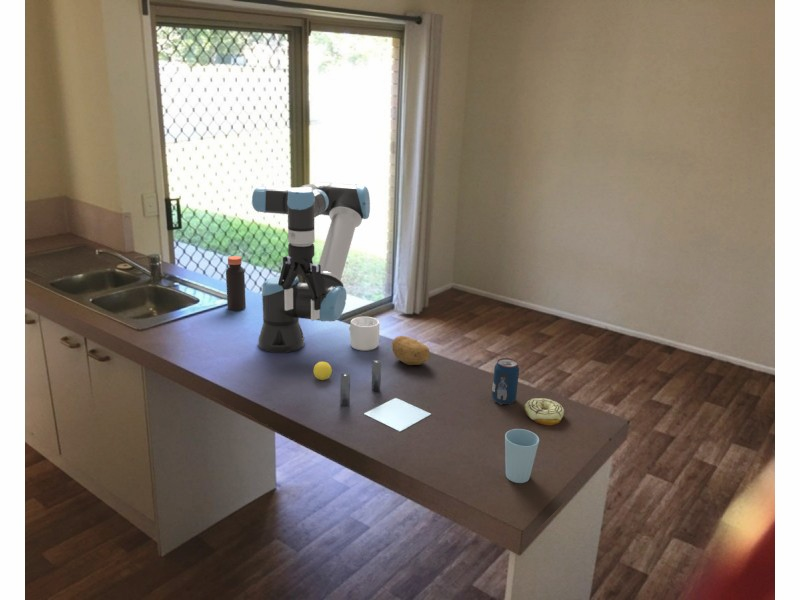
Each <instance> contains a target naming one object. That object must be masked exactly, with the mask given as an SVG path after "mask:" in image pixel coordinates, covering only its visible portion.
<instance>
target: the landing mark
mask: <svg viewBox="0 0 800 600" xmlns="http://www.w3.org/2000/svg"><path fill="white" fill-rule="evenodd" d="M363 415H365V416H367V417H369V418H370V419H373V420H375V421H377V422H379V423H381V424H383V425H384V426H388V427H389V428H391V429H393V430H395V431H397V432H400V433H401V432H403V431H404V430H406V429H408V428H410V427H412V426H414V425H415V424H417V423H419V422H420V421H423V420H424V419H426V418H427V417H430V416H431V415H432V413H430V412H428V411H426V410H424V409H421V408H420V407H417V406H415V405H412V404H410V403H409V402H406V401H404V400H402V399H399V398H397V397H395V398H392V399H390V400H389V401H386V402H385V403H383V404H380V405H378V406H376V407H374V408H372V409H370V410H368V411H366V412H364V413H363Z"/></svg>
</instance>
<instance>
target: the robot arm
mask: <svg viewBox="0 0 800 600" xmlns="http://www.w3.org/2000/svg"><path fill="white" fill-rule="evenodd" d="M251 196H252V197H251V204H252V207H253V208H252V209H254V210H255V211H256V212H258V213H264V214H277V215H278V214H280V215H287V233H288V234H287V236H288V237H287V239H288V246H287V249H288V251H287V253H288V254H287V256H283V257H282V267H281V271H280V275H275V276H273V277H270V278H267V279H266V280H265V281H264V282H263V283H262V291H261V292H262V293H261V297H262V299H261V300H262V321H263V322H262V326H261V330H260V333H259V335H258V341H257V343H258V347H259V349H261V350H262V351H265V352H269V353H276V354H279V353H282V354H283V353H291V352H296V351H297V350H301V348H303V347H304V345H305V336H304V334H303V333H304V332H303V330H302V328H301V325H300V321H299V320H300V319H305V320H310V321H311V322H314V321H320V322H336V321H337V320H339V319H340V318H341V316H342V314H343V312H344V310H345V306H346V300H347V290H346V288H345V287H344V283H343V282H342V277H343V273H344V269H345V266H346V263H347V258H348V255H349V251H350V248H351V245H352V241H353V237H354V233H355V230H356V228H358V227H359V226H361V224H362V221H363V220H367V219H368V218H370V211H371V200H370V191H369V188H367V186H365V185H361V184H360V185H359V184H348V183H347V184H346V183H336V182H319V183H318V182H317V183H310V184H303V185H300V186H299V187H266V186H264V187H263V186H261V187H260V186H257V187H255V189H254V191H253V192H252V195H251ZM321 215H322V216H329V218H330V220H331V222H330V223H329V224H330V225H329V227H328V231H327V234H326V239H325V240H324V241H325V242H324V245H323V247H322V251H321V255H320V258H319V261H318V264H315V263H313V258H314V257H315V218H317V217H318V216H321ZM298 275H300V276H302V278H303V280H305V282H300V279H299V276H298Z"/></svg>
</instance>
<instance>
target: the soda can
mask: <svg viewBox="0 0 800 600" xmlns="http://www.w3.org/2000/svg"><path fill="white" fill-rule="evenodd" d="M519 375H520V367H519V364H518V361H517V360H515V359H513V358H510V357H509V358H508V357H501V358H499V359H497V361H496V364H495V365H494V370H493V377H492V378H493V380H492V390H491V396H492V397H491V398H492V399H493V402H495V403H496V402H497V403H496V404H498V403H500V404H499V405H502V404H509V405H511V403H512V404H513V403H514V402H515V401H516V399H517V394H518V383H519Z"/></svg>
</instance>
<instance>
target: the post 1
mask: <svg viewBox="0 0 800 600" xmlns="http://www.w3.org/2000/svg"><path fill="white" fill-rule="evenodd" d="M339 393H340V398H339V399H340V400H339V405H340V406H341V407H343V406H344V408H346V407H349V406H350V405H351V403H350V402H351V396H350V395H351V374H350V373H348V372H343V373H340V391H339Z"/></svg>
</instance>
